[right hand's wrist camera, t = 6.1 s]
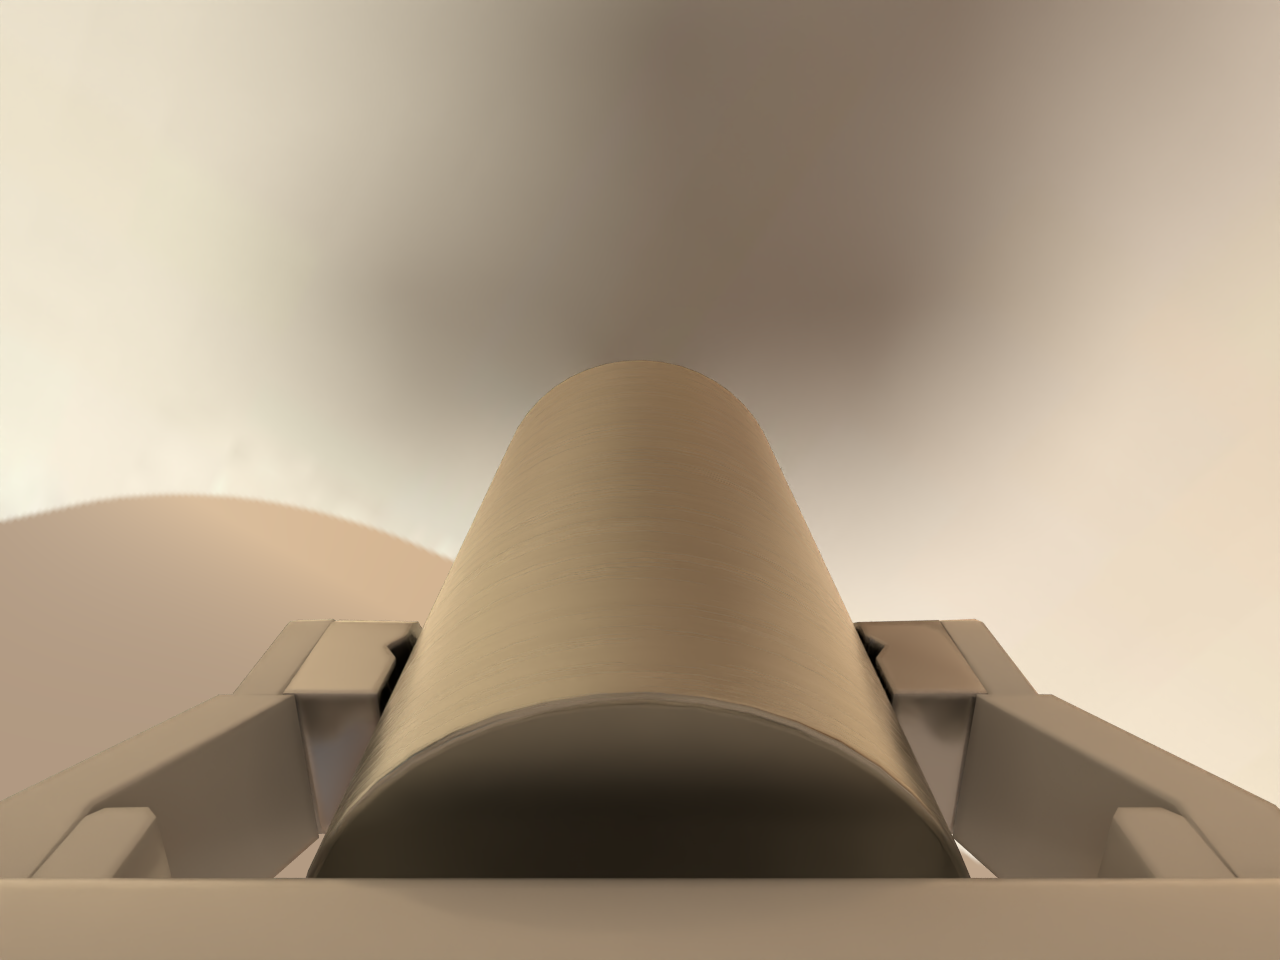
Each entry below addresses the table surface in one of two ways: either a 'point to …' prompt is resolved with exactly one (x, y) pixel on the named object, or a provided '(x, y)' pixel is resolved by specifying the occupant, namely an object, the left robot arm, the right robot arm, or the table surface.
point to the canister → (638, 672)
